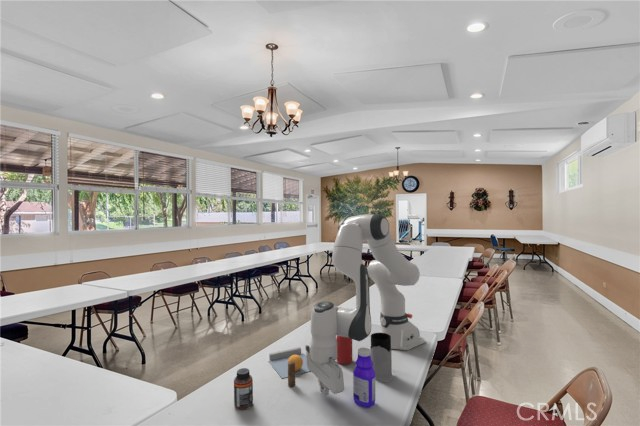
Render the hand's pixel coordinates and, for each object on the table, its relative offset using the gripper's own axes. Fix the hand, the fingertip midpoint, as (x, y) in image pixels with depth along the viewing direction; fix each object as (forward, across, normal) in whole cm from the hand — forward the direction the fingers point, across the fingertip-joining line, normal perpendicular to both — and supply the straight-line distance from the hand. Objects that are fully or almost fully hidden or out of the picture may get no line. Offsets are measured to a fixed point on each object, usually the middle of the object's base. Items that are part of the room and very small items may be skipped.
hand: (324, 393), depth 111 cm
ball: (-1, +23, +1) cm, 23 cm away
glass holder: (+2, +5, -28) cm, 28 cm away
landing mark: (+2, +27, 0) cm, 27 cm away
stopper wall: (+2, +36, 0) cm, 36 cm away
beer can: (+2, +20, -20) cm, 28 cm away
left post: (+2, +13, +6) cm, 15 cm away
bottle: (+2, -9, -10) cm, 13 cm away
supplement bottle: (+2, +9, +25) cm, 27 cm away
